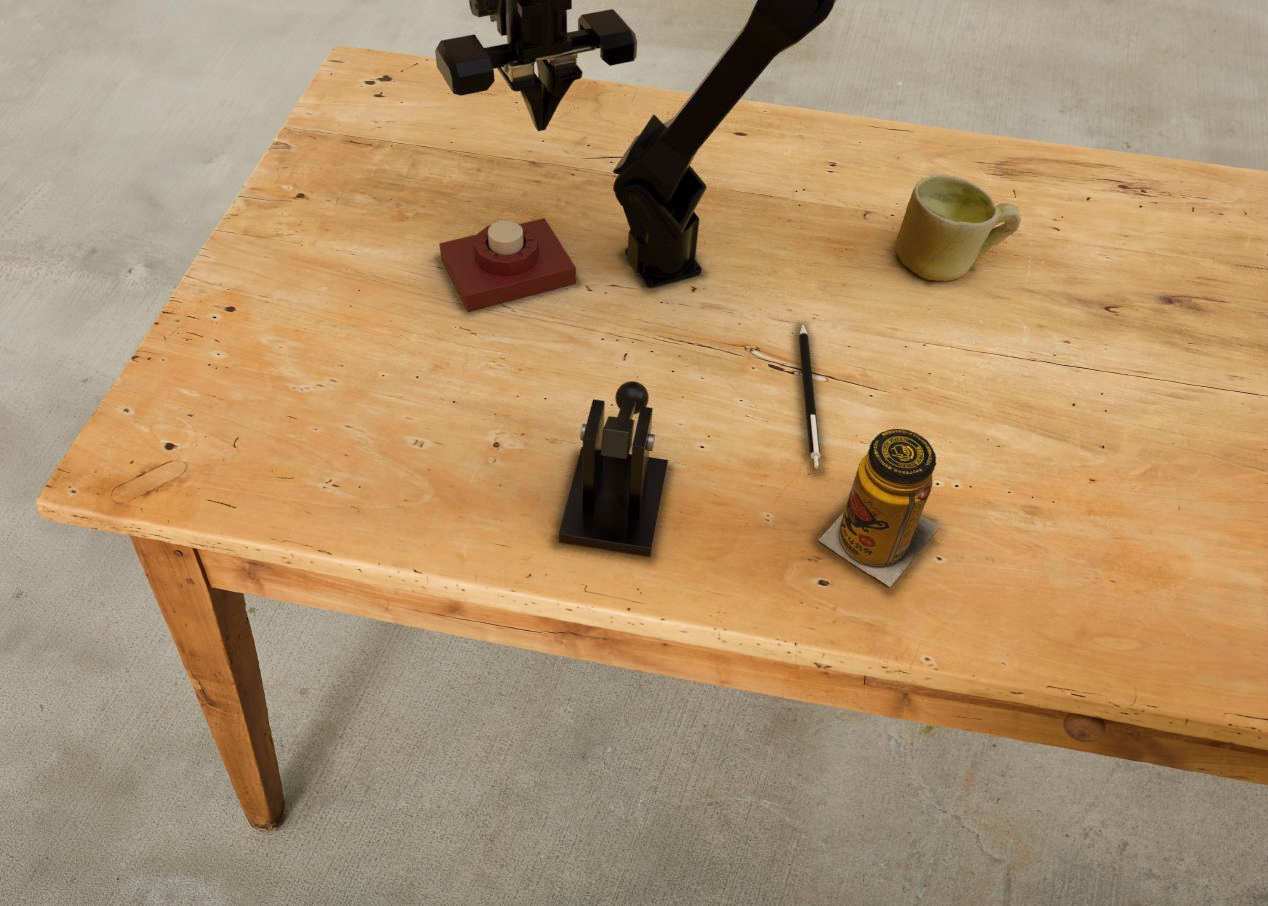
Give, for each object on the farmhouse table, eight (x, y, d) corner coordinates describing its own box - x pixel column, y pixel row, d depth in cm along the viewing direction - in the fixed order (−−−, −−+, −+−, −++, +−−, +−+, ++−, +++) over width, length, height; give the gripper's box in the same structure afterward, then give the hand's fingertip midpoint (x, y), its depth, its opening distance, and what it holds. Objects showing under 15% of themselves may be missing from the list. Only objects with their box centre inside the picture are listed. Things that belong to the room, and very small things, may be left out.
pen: (810, 470, 97) (812, 462, 96) (797, 327, 109) (799, 319, 108) (820, 470, 97) (822, 462, 96) (806, 327, 109) (807, 319, 108)
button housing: (545, 233, 117) (544, 204, 114) (575, 283, 112) (575, 253, 109) (441, 259, 114) (437, 229, 111) (467, 312, 109) (464, 282, 105)
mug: (884, 273, 112) (925, 186, 107) (879, 240, 121) (916, 158, 115) (992, 310, 113) (1038, 225, 107) (979, 275, 121) (1021, 194, 116)
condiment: (817, 541, 92) (843, 452, 82) (869, 484, 96) (899, 394, 87) (889, 589, 89) (925, 502, 80) (939, 528, 93) (978, 439, 84)
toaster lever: (616, 404, 97) (619, 374, 95) (648, 409, 96) (652, 379, 95) (595, 458, 86) (598, 424, 85) (631, 463, 86) (635, 430, 84)
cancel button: (516, 230, 112) (515, 216, 110) (528, 250, 110) (527, 237, 108) (484, 238, 111) (482, 224, 109) (495, 258, 109) (494, 245, 107)
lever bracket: (581, 454, 97) (581, 372, 89) (667, 467, 96) (675, 385, 88) (558, 542, 90) (556, 462, 82) (650, 557, 90) (658, 477, 82)
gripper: (595, -75, 103) (593, 72, 115) (409, -46, 98) (427, 105, 109) (642, -24, 97) (635, 126, 109) (446, 10, 91) (461, 164, 103)
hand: (540, 128), depth 108 cm, fingers closed
